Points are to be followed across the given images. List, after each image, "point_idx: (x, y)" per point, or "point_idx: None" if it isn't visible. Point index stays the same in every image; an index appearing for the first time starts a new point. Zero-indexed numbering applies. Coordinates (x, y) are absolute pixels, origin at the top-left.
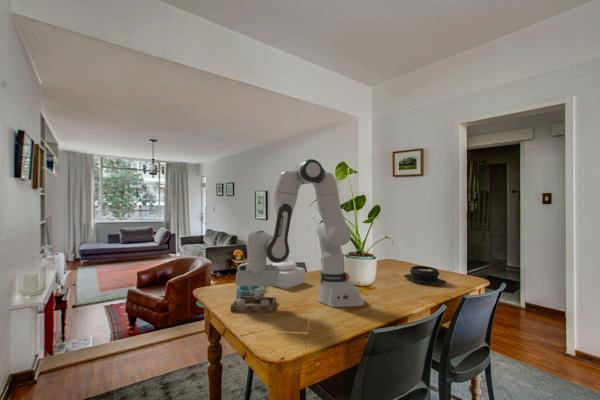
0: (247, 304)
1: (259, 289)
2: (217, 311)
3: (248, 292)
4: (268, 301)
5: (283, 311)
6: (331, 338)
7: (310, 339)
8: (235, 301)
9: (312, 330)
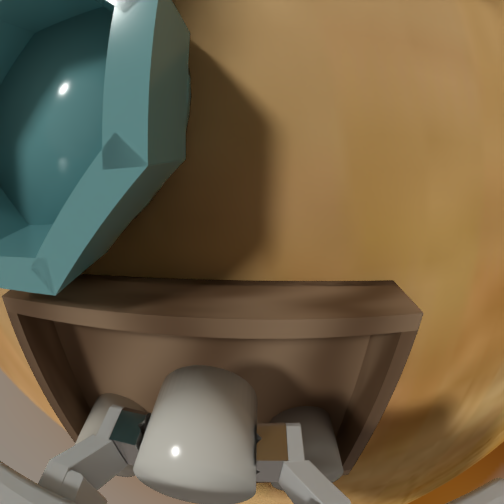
0: (123, 350)
1: (220, 486)
2: (36, 403)
3: (32, 287)
4: (336, 479)
5: (415, 399)
6: (463, 470)
7: (421, 490)
8: (59, 411)
9: (447, 466)
